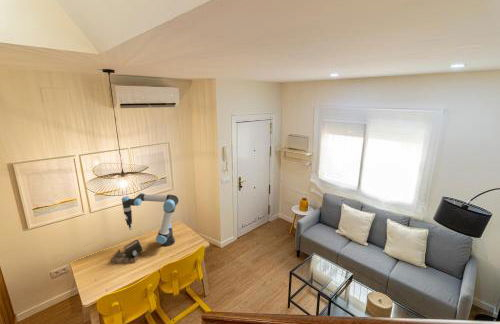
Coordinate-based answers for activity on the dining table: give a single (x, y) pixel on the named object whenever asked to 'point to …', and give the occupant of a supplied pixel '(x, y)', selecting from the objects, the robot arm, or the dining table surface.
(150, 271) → the dining table surface
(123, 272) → the dining table surface
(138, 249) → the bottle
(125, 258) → the walnut rest
